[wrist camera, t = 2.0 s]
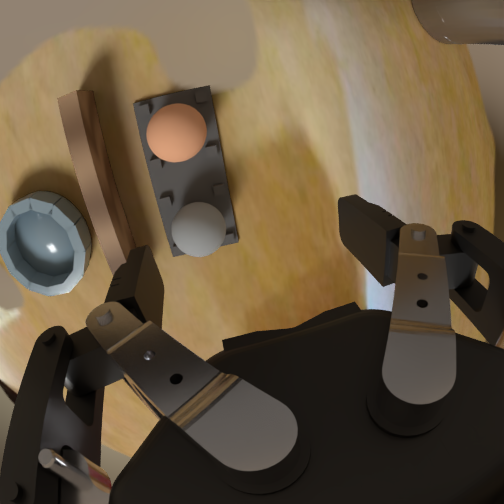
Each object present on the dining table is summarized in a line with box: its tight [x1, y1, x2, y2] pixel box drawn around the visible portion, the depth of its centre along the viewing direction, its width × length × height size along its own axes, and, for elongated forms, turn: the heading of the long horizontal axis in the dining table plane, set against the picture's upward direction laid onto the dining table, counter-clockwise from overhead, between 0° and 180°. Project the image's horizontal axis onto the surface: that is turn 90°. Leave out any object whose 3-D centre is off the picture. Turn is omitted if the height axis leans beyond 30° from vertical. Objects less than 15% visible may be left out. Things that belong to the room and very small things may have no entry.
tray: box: [133, 86, 238, 257], centre depth 27 cm, size 16×7×1 cm, turn 8°
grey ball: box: [172, 202, 226, 257], centre depth 28 cm, size 5×5×5 cm
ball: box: [146, 103, 207, 162], centre depth 23 cm, size 5×5×5 cm
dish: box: [0, 191, 92, 296], centre depth 26 cm, size 11×11×3 cm
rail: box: [57, 90, 136, 276], centre depth 25 cm, size 20×2×4 cm, turn 8°
